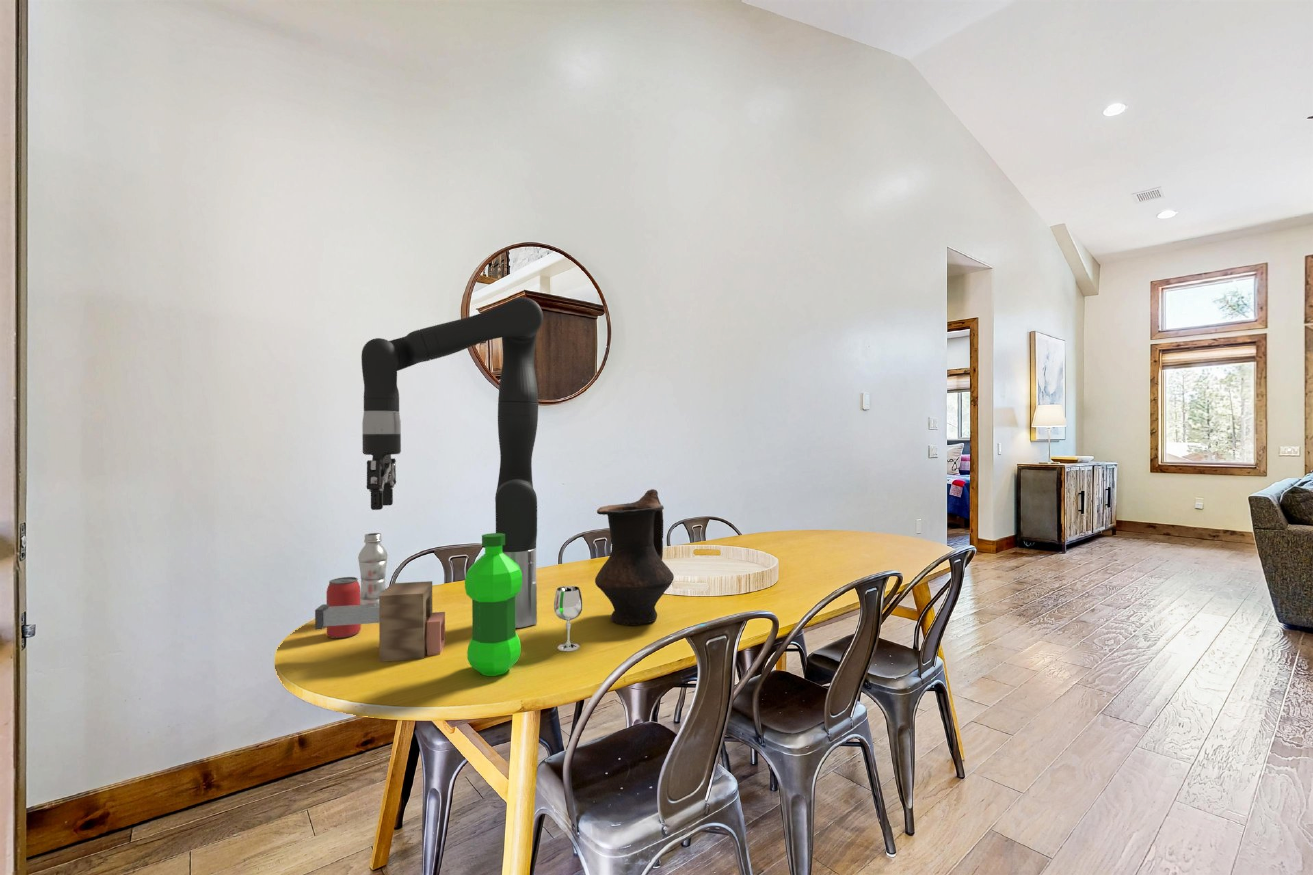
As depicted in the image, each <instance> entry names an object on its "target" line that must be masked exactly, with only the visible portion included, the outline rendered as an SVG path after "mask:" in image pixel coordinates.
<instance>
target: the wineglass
mask: <svg viewBox="0 0 1313 875" xmlns="http://www.w3.org/2000/svg"><path fill="white" fill-rule="evenodd" d="M555 590H556V591H555V593H554V601H553V610H554V614H555V616H556V617H557V618H558V619H560V620H562V621H566V623H565V628H566V631H567V632H566V633H567V636H566V638H567V639H566V642H565V643H561V644H559V645H558V646H557V650H558V651H560V652H574V651H576V650H578V649H579V648H580V645H579V644H578V643H572V642H571V640H570V631H571V626H572V624H571V621H573V620H575V619H577V618H578V617H579V616H580V615H581V614H582V611H583V597H582V592H581V588H580V587H579V586H575V585H563V586H560V587H557V588H556V589H555Z"/></svg>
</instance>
